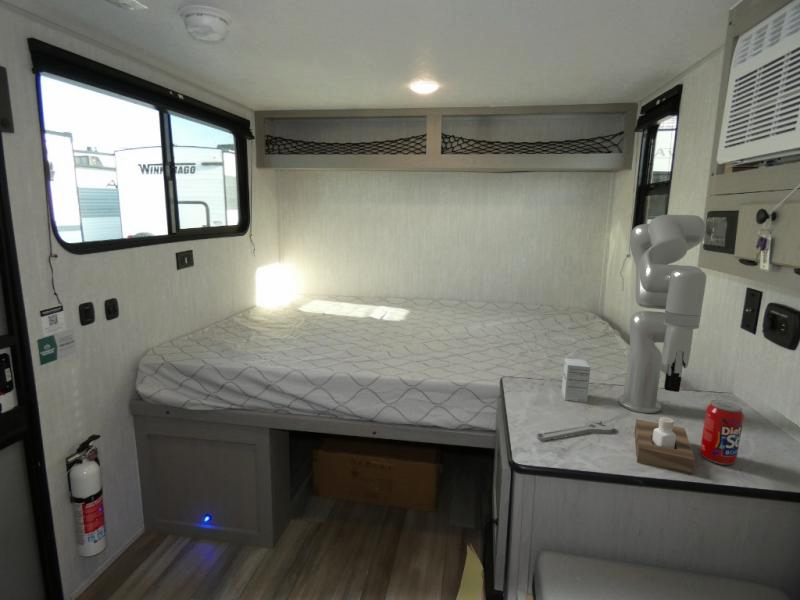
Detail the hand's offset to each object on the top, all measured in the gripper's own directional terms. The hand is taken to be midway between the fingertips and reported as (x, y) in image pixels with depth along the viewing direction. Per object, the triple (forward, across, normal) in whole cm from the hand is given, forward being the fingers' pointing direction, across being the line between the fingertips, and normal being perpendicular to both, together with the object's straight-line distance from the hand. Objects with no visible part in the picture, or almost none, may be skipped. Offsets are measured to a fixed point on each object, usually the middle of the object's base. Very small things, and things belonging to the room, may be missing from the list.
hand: (671, 389), depth 116 cm
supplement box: (+18, -30, -24) cm, 43 cm away
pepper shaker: (+18, 0, 0) cm, 18 cm away
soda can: (+19, -5, +13) cm, 23 cm away
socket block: (+18, -3, 0) cm, 19 cm away
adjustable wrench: (+19, -4, -22) cm, 29 cm away
